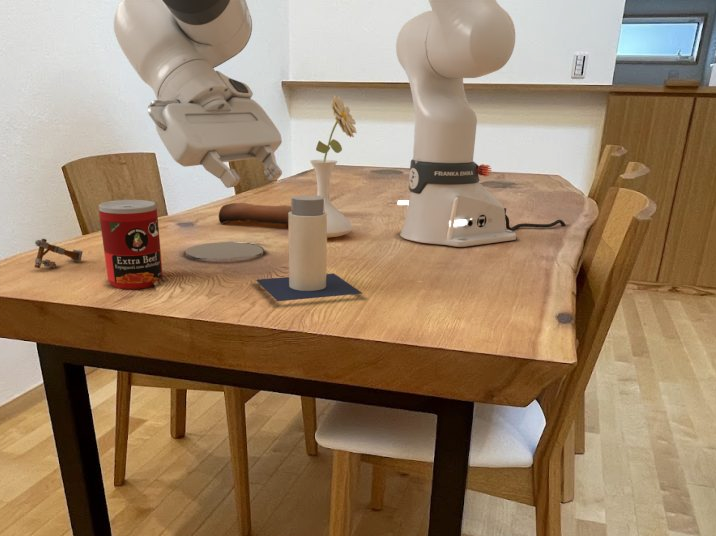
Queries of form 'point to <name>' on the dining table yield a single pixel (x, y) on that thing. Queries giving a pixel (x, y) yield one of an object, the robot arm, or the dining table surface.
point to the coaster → (223, 250)
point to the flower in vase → (323, 169)
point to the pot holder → (284, 292)
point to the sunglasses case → (254, 213)
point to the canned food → (131, 243)
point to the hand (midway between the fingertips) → (256, 180)
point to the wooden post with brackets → (42, 244)
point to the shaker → (307, 243)
